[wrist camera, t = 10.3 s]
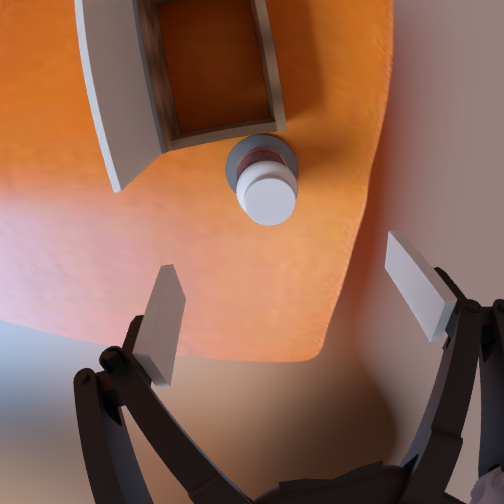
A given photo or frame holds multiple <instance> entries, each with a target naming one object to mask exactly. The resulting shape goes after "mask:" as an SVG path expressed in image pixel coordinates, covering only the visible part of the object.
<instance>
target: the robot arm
mask: <svg viewBox="0 0 504 504" xmlns="http://www.w3.org/2000/svg"><path fill="white" fill-rule="evenodd" d="M385 269H386V270H387V272H388V273H389V275H390V276H391V278H392V280H393V281H394V283H395V284H396V286H397V287H398V289H399V290H400V292H401V294H402V295H403V297H404V298H405V300H406V302H407V303H408V305H409V307H410V308H411V310H412V312H413V313H414V315H415V317H416V318H417V320H418V322H419V323H420V325H421V327H422V328H423V330H424V332H425V334H426V336H427V338H428V339H429V341H430V342H432V341H435V340H438V339H441V338H442V336H443V334H444V331H446V333H447V334H448V337H447V339H446V342H445V344H444V346H443V349H444V351H443V355H442V359H441V363H440V367H439V370H438V374H437V377H436V380H435V384H434V387H433V390H432V393H431V396H430V399H429V402H428V404H427V407H426V410H425V413H424V415H423V418H422V421H421V423H420V426H419V428H418V431H417V433H416V435H415V438H414V440H413V442H412V444H411V447H410V449H409V451H408V453H407V454H406V455H405V457H404V458H403V460H402V462H401V464H400V465H399V466H396V465H387V464H385V465H383V462H382V461H379V462H376V463H372V464H369V465H365V466H362V467H358V468H356V469H354V470H352V471H350V472H348V473H346V474H344V475H342V476H340V477H338V478H335V479H332V480H325V479H300V480H292V481H284V482H279V486H277V487H274V488H272V489H270V490H268V491H266V492H264V493H263V494H261V495H260V496H259V497H257V498H256V499H255V500H254V501H253V500H252V499H251V498H250V497H248V496H247V495H246V494H245V493H244V492H243V491H242V490H241V489H239V488H238V487H237V486H236V485H235V484H234V483H233V482H232V481H231V480H230V479H229V478H228V477H227V476H226V475H225V474H224V473H223V472H222V471H221V470H220V469H219V468H218V467H217V466H216V465H214V463H213V462H212V461H211V460H210V459H209V458H208V457H207V456H206V455H205V454H204V453H203V452H202V450H201V449H200V448H199V447H198V446H197V445H196V444H195V443H194V441H193V440H192V439H191V438H190V437H189V436H188V434H187V433H186V432H185V431H184V430H183V429H182V428H181V426H180V425H179V424H178V423H177V422H176V420H175V419H174V418H173V416H172V415H171V414H170V413H169V411H168V410H167V409H166V407H164V405H163V403H162V402H161V401H160V400H159V398H158V397H157V395H156V394H155V393H154V392H153V390H152V389H151V382H153V383H154V384H155V386H157V387H163V386H170V384H171V378H172V372H173V365H174V360H175V354H176V349H177V343H178V338H179V332H180V327H181V322H182V316H183V311H184V306H185V301H186V298H185V295H184V293H183V290H182V287H181V285H180V282H179V279H178V277H177V274H176V271H175V269H174V266H173V264H171V265H165V266H161V268H160V271H159V274H158V276H157V279H156V282H155V285H154V288H153V290H152V293H151V296H150V299H149V302H148V305H147V308H146V311H145V314H144V315H139V316H136V317H135V318H134V319H133V320H132V322H131V323H130V326H129V329H128V332H127V335H126V338H125V341H124V343H123V346H122V348H120V347H118V346H111V347H109V348H107V349H106V350H104V351H103V352H102V354H101V356H100V358H99V362H100V365H101V366H102V367H103V368H104V371H101V372H98V373H95V372H94V371H93V370H92V369H90V368H84V369H81V370H80V371H79V372H78V373H77V374H76V375H75V377H74V381H73V383H74V395H75V404H76V413H77V420H78V428H79V434H80V439H81V446H82V451H83V456H84V460H85V465H86V470H87V473H88V478H89V482H90V486H91V490H92V493H93V496H94V500H95V503H96V504H154V503H153V501H152V498H151V496H150V494H149V491H148V489H147V487H146V484H145V481H144V479H143V476H142V473H141V471H140V468H139V465H138V462H137V460H136V456H135V453H134V450H133V447H132V444H131V441H130V438H129V434H128V431H127V427H126V424H125V421H124V417H123V413H122V409H121V406H124V405H126V407H127V408H128V410H129V412H130V413H131V415H132V417H133V418H134V420H135V421H136V423H137V425H138V426H139V428H140V429H141V431H142V432H143V433H144V435H145V437H146V438H147V440H148V441H149V443H150V444H151V445H152V447H153V448H154V450H155V451H156V452H157V454H158V455H159V456H160V458H161V459H162V460H163V462H164V463H165V464H166V466H167V467H168V468H169V470H170V471H171V472H172V473H173V475H174V476H175V477H176V479H177V480H178V481H179V482H180V483H181V484H182V486H183V487H184V488H185V489H186V491H187V492H188V496H189V498H190V499H191V500H192V501H193V503H194V504H466V503H464V502H462V501H460V500H458V499H457V498H455V497H453V496H451V495H449V494H448V493H446V492H444V491H445V489H446V487H447V484H448V482H449V480H450V477H451V475H452V472H453V470H454V467H455V464H456V462H457V459H458V456H459V453H460V451H461V448H462V444H463V438H461V432H462V429H463V426H464V422H465V418H466V415H467V411H468V407H469V402H470V398H471V394H472V390H473V385H474V379H475V374H476V368H477V362H478V357H479V368H480V382H481V437H480V451H479V465H478V473H479V474H478V475H479V479H478V481H477V482H476V484H475V485H474V488H473V489H472V491H471V497H472V500H471V502H470V503H469V504H504V300H503V299H497V300H495V301H494V303H493V305H492V307H481V305H480V304H479V303H478V302H477V301H474V300H471V299H467V298H466V297H465V296H464V294H463V293H462V292H461V291H460V289H459V288H458V287H457V285H456V284H454V282H453V280H452V279H450V277H449V276H448V274H447V273H446V272H445V271H443V270H442V269H440V268H439V267H436V268H433V267H432V266H431V265H430V264H429V263H428V262H427V260H426V259H425V258H424V257H423V256H422V254H421V253H420V252H419V251H418V250H417V249H416V248H415V246H414V245H413V244H412V243H411V242H410V241H409V240H408V238H407V237H406V236H405V235H404V234H403V233H402V232H401V231H400V230H399V229H398V230H392V231H389V233H388V244H387V253H386V261H385Z"/></svg>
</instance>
